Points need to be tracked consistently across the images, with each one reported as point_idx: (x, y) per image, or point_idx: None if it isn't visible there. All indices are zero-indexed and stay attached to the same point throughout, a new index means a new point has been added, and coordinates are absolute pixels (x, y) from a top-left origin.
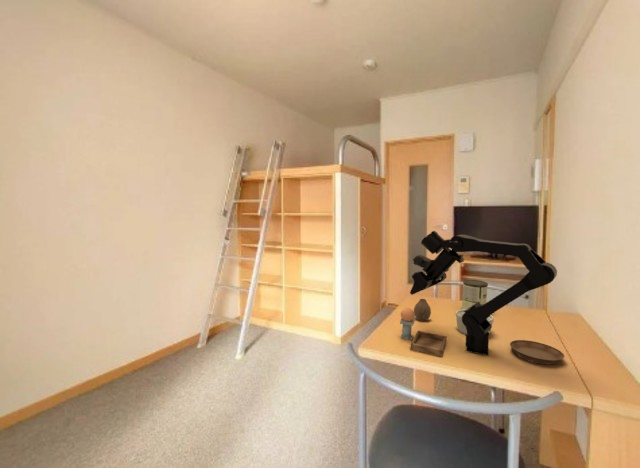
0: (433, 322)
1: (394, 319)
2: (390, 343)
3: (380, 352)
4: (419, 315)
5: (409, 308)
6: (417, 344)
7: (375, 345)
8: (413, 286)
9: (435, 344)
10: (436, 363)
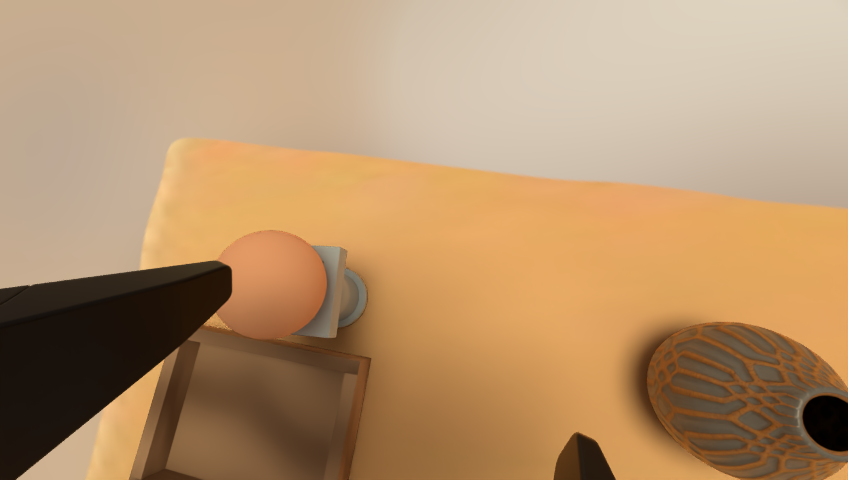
0: (670, 474)
1: (590, 203)
2: (246, 231)
3: (155, 206)
4: (650, 369)
5: (237, 290)
6: (172, 359)
7: (211, 175)
8: (14, 302)
9: (273, 457)
10: (100, 444)
